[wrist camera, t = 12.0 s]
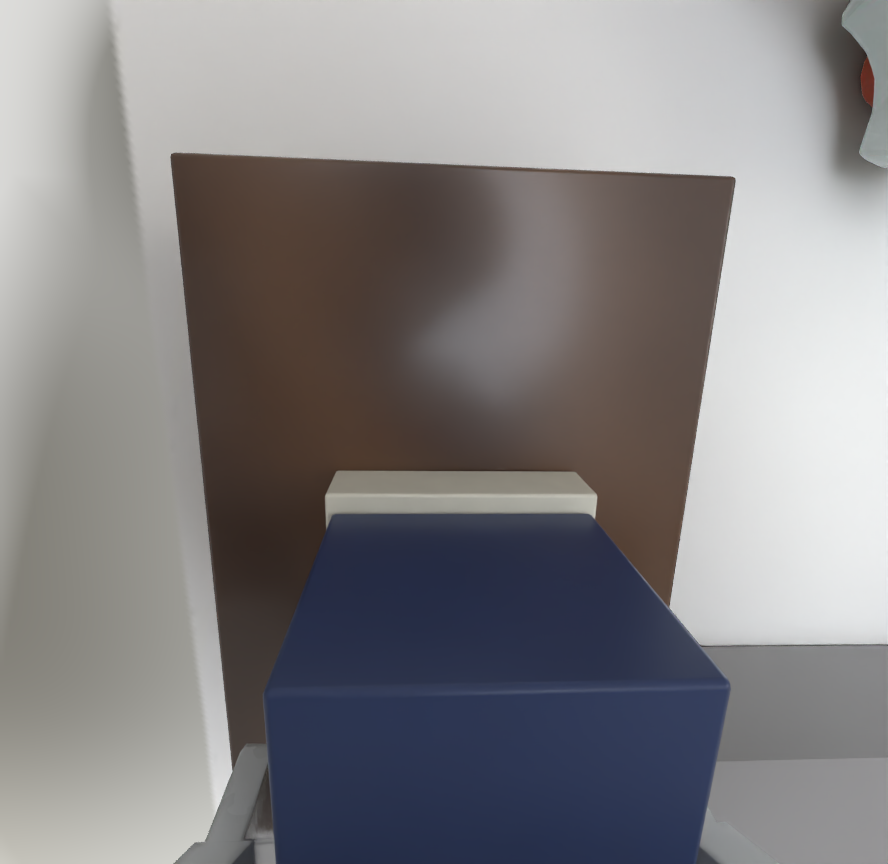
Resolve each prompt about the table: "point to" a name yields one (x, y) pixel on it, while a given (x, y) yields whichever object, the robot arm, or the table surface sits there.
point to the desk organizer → (805, 751)
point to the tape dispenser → (872, 72)
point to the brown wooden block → (433, 353)
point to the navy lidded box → (485, 685)
